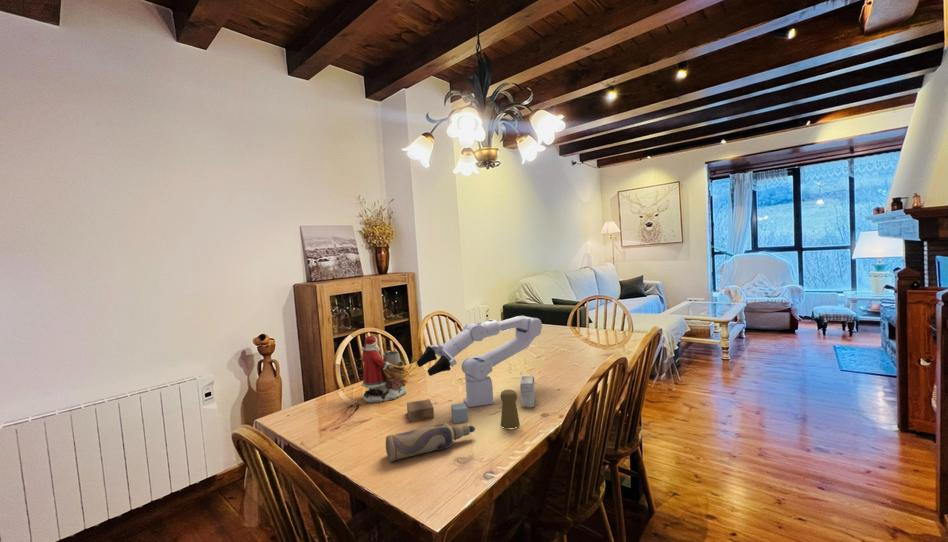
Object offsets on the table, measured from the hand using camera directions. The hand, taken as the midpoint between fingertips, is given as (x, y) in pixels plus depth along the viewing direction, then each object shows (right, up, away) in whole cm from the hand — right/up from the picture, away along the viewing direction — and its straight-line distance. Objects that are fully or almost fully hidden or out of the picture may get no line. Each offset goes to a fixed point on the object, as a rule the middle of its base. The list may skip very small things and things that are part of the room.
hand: (423, 369), depth 132 cm
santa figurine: (-18, -17, +23) cm, 33 cm away
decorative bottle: (+5, -18, -22) cm, 29 cm away
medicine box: (+37, -14, +8) cm, 40 cm away
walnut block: (-1, -17, +2) cm, 17 cm away
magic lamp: (-16, -16, +38) cm, 44 cm away
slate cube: (+13, -16, -3) cm, 21 cm away
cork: (+29, -16, -9) cm, 34 cm away
